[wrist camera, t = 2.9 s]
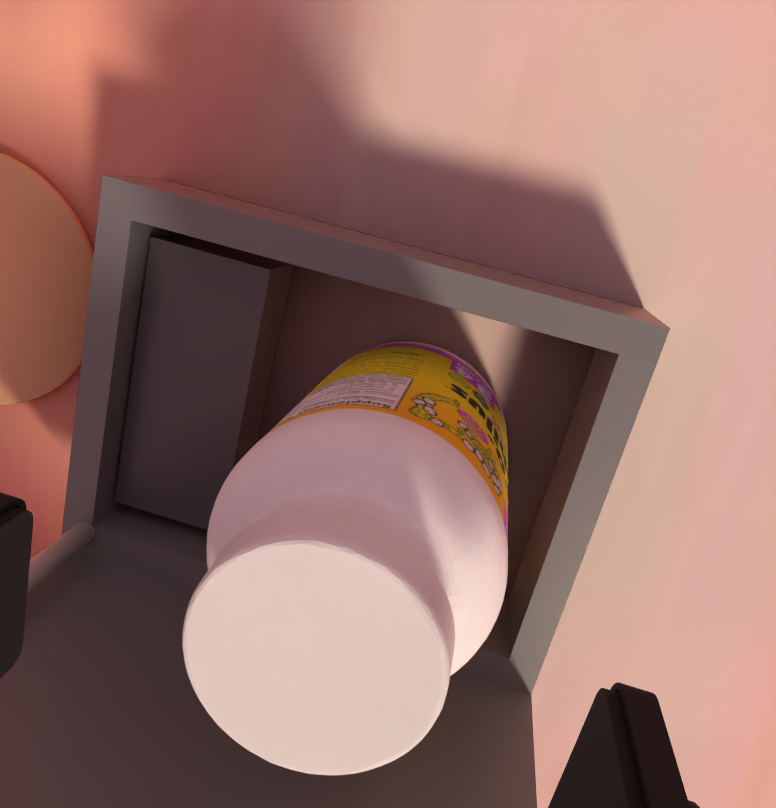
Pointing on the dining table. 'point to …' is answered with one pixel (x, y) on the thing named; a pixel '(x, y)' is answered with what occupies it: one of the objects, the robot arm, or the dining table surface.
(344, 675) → the supplement bottle
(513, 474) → the dining table surface
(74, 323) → the pad
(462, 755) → the case
